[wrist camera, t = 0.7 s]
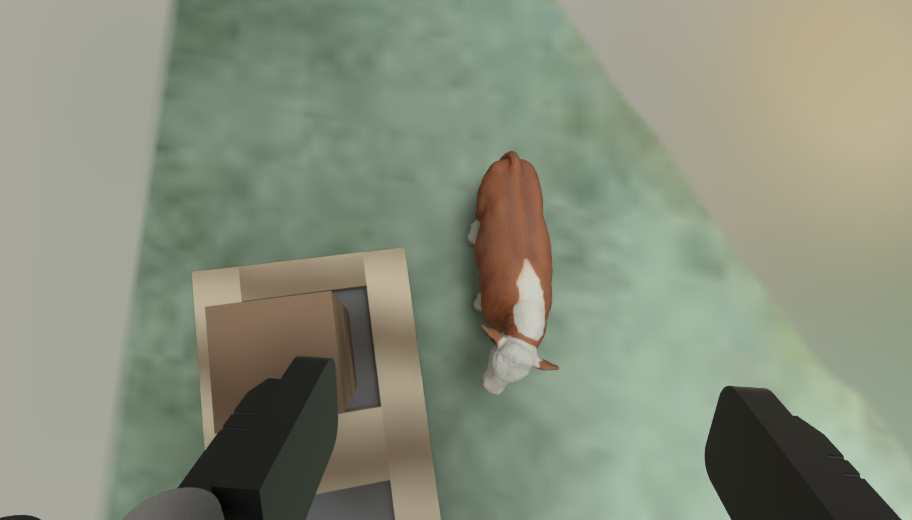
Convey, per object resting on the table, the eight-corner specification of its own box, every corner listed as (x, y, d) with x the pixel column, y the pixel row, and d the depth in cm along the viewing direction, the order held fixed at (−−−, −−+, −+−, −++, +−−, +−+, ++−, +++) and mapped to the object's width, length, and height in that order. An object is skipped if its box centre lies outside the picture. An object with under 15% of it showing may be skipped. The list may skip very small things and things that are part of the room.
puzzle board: (205, 277, 31) (191, 271, 29) (402, 253, 33) (404, 247, 31) (235, 674, 28) (223, 703, 25) (451, 621, 30) (457, 643, 28)
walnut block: (271, 321, 30) (204, 306, 18) (348, 311, 31) (331, 290, 19) (278, 398, 30) (214, 433, 18) (357, 386, 30) (344, 412, 19)
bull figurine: (455, 385, 32) (481, 398, 24) (464, 181, 34) (491, 132, 26) (522, 387, 33) (569, 401, 25) (527, 187, 35) (571, 140, 27)
